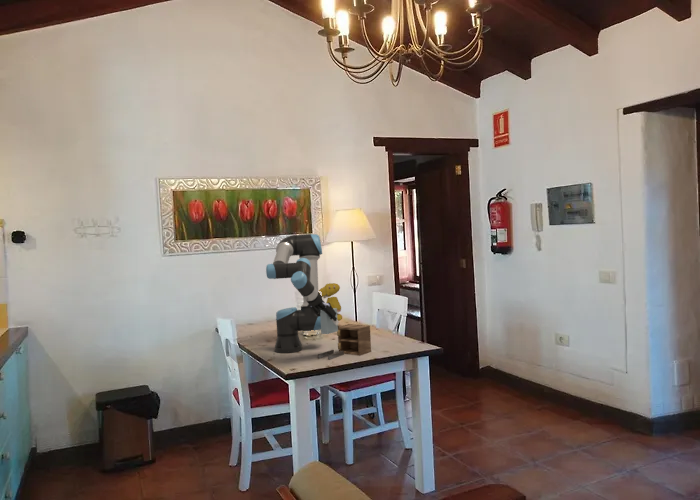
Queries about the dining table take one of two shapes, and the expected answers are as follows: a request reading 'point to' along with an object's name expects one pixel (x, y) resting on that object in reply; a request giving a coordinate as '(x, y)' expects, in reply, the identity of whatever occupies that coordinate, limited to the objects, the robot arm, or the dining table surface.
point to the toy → (329, 291)
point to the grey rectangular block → (327, 323)
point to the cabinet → (351, 341)
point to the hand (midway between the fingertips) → (333, 323)
